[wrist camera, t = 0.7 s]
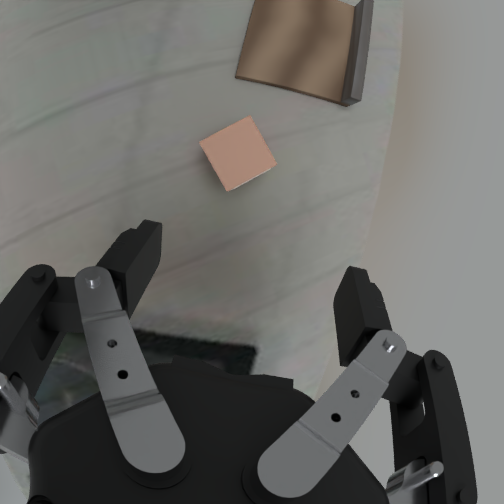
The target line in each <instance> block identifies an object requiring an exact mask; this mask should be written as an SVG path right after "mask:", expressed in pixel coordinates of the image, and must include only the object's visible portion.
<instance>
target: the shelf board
mask: <svg viewBox="0 0 504 504" xmlns="http://www.w3.org/2000/svg"><path fill="white" fill-rule="evenodd" d="M373 3H374V1H373V0H361V1H360V2H359V3H358V4H357V5H356V6H355V7H354V6H352V5H349V4H346V3H344V2H341V1H338V0H255V2H254V6H253V10H252V13H251V17H250V21H249V25H248V29H247V32H246V36H245V40H244V44H243V48H242V52H241V56H240V60H239V64H238V68H237V73H236V77H235V78H238V79H243V80H248V81H253V82H257V83H262V84H266V85H271V86H275V87H279V88H283V89H287V90H291V91H295V92H299V93H302V94H306V95H310V96H313V97H317V98H320V99H323V100H327V101H330V102H333V103H336V104H339V105H343V106H346V107H347V106H350V105H352V104H354V103H357V102H359V101H361V99H362V92H363V86H364V79H365V72H366V65H367V57H368V49H369V41H370V33H371V23H372V14H373Z"/></svg>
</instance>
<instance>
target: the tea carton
mask: <svg viewBox="0 0 504 504" xmlns="http://www.w3.org/2000/svg"><path fill="white" fill-rule="evenodd" d="M199 143H200V145H201V147H202V148H203V150H204V152H205V154H206V155H207V157H208V159H209V161H210V162H211V164H212V166H213V168H214V170H215V171H216V173H217V175H218V177H219V178H220V180H221V182H222V184H223V186H224V187H225V189H226V191H227V192H228V191H230V190H231V189H235V188H237V187H239V186H241V185H242V184H244V183H246V182H248V181H250V180H251V179H253V178H255V177H257V176H259V175H261V174H263V173H264V172H266V171H268V170H270V168H272V167H274V166H276V165H277V163H276V161H275V159H274V157H273V155H272V154H271V152H270V150H269V148H268V146H267V144H266V143H265V141H264V139H263V137H262V135H261V134H260V132H259V130H258V128H257V126H256V125H255V123H254V121H253V119H252V118H251V116H250V115H249V116H247V117H246V118H244V119H242V120H240V121H238V122H236V123H234V124H232V125H230V126H228V127H226V128H224V129H222V130H220V131H219V132H217V133H215V134H213V135H211V136H209V137H208V138H206V139H204V140H202V141H200V142H199Z"/></svg>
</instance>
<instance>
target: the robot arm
mask: <svg viewBox="0 0 504 504" xmlns="http://www.w3.org/2000/svg"><path fill="white" fill-rule="evenodd" d="M161 242H162V223H159V222H155V221H150V220H146V219H145V220H143V221H142V223H141V224H140V225H139V227H138V228H137V229H132V228H130V229H128V230H127V231H125V232H123V233H121V234H120V236H119V237H118V238H117V239H116V241H115V242H114V243H113V244H112V246H111V248H109V249H108V251H107V252H106V253H105V254H104V256H103V257H102V258H101V259H100V261H99V262H98V263H97V265H96V266H92V267H87V268H84V269H82V270H81V271H79V272H78V273H77V275H76V276H75V277H56V273H55V270H54V269H53V268H52V267H51V266H49V265H45V264H39V265H35V266H33V267H31V268H29V269H28V270H27V271H26V272H25V273H24V274H23V275H22V276H21V278H20V279H19V280H18V282H17V283H16V284H15V285H14V287H13V288H12V289H11V291H10V292H9V293H8V294H7V296H6V297H5V298H4V300H3V301H2V302H1V304H0V454H4V453H9V454H11V455H12V456H14V457H16V458H18V459H20V460H22V461H24V462H26V463H28V464H29V469H30V494H29V499H28V502H27V504H476V503H477V487H476V478H475V471H474V464H473V458H472V452H471V447H470V441H469V436H468V431H467V426H466V421H465V417H464V412H463V408H462V404H461V400H460V396H459V392H458V388H457V384H456V380H455V377H454V374H453V370H452V366H451V364H450V361H449V360H448V359H447V357H446V356H445V355H443V354H442V353H441V352H438V351H436V350H430V351H428V352H426V353H425V355H424V356H423V357H421V356H419V355H417V354H414V353H412V352H409V351H407V348H406V344H405V342H404V340H403V339H402V338H401V337H400V336H399V335H398V334H396V333H395V332H393V331H392V328H391V324H390V320H389V317H388V313H387V310H386V309H385V308H386V307H385V304H384V302H383V301H384V300H383V297H382V294H381V291H380V290H379V289H378V287H377V286H376V285H375V283H371V282H370V280H369V276H368V273H367V271H366V270H365V269H361V268H357V267H352V266H349V267H348V268H347V270H346V272H345V274H344V277H343V279H342V281H341V283H340V285H339V287H338V290H337V292H336V294H335V297H334V303H333V308H334V315H335V324H336V332H337V341H338V350H339V359H340V366H344V367H347V368H346V369H345V371H344V372H343V373H342V374H341V375H340V376H339V378H338V379H337V380H336V381H335V382H334V383H333V384H332V385H331V386H330V388H329V389H328V390H327V391H326V392H325V393H324V394H323V395H322V396H321V397H320V398H319V400H318V401H317V402H315V401H314V400H312V399H311V398H310V397H309V396H307V395H306V394H304V393H303V392H301V391H299V390H297V389H294V388H293V379H288V378H282V377H276V376H271V375H265V374H263V375H232V374H229V373H227V372H225V371H223V370H220V369H218V368H216V367H214V366H212V365H210V364H207V363H205V362H203V361H199V360H194V359H190V358H186V357H182V356H178V355H174V358H173V361H172V363H157V364H152V365H149V366H147V364H146V362H145V359H144V357H143V354H142V352H141V349H140V347H139V344H138V342H137V339H136V337H135V334H134V332H133V329H132V326H131V324H130V321H129V320H130V318H131V316H132V314H133V312H134V310H135V308H136V306H137V304H138V302H139V300H140V299H141V297H142V295H143V293H144V291H145V289H146V287H147V285H148V284H149V282H150V280H151V278H152V276H153V274H154V273H155V271H156V269H157V267H158V265H159V262H160V257H161ZM67 332H80V333H85V337H86V341H87V345H88V349H89V353H90V357H91V361H92V364H93V368H94V371H95V375H96V378H97V382H98V385H99V388H100V391H99V392H98V393H96V394H94V395H92V396H90V397H88V398H87V399H85V400H83V401H81V402H79V403H77V404H75V405H74V406H72V407H70V408H68V409H66V410H64V411H62V412H60V413H59V414H57V415H55V416H53V417H51V418H49V419H47V420H46V421H44V422H43V423H42V424H40V425H39V426H38V425H37V420H38V416H39V406H38V403H37V401H36V399H35V398H34V397H35V395H36V393H37V390H38V388H39V386H40V384H41V382H42V380H43V378H44V376H45V373H46V371H47V369H48V367H49V365H50V363H51V361H52V359H53V357H54V355H55V353H56V351H57V350H58V348H59V346H60V344H61V342H62V340H63V338H64V336H65V334H66V333H67ZM380 398H384V399H387V400H389V403H390V412H391V423H392V435H393V448H394V465H395V466H394V467H395V473H393V474H392V475H391V476H390V478H389V479H388V482H387V488H386V489H384V487H383V486H382V485H381V483H380V482H379V481H378V480H377V479H376V477H375V476H374V475H373V474H372V472H371V471H370V470H369V469H368V467H367V466H366V465H365V464H364V463H363V461H362V460H361V459H360V458H359V456H358V455H357V454H356V453H355V451H354V450H353V449H352V448H351V446H350V445H349V444H348V443H349V442H350V440H351V439H352V437H353V436H354V435H355V434H356V432H357V431H358V429H359V428H360V427H361V425H362V424H363V423H364V421H365V420H366V418H367V417H368V416H369V414H370V413H371V411H372V410H373V408H374V407H375V405H376V404H377V402H378V401H379V399H380ZM423 402H424V407H425V416H424V410H423V404H422V403H423Z"/></svg>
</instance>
